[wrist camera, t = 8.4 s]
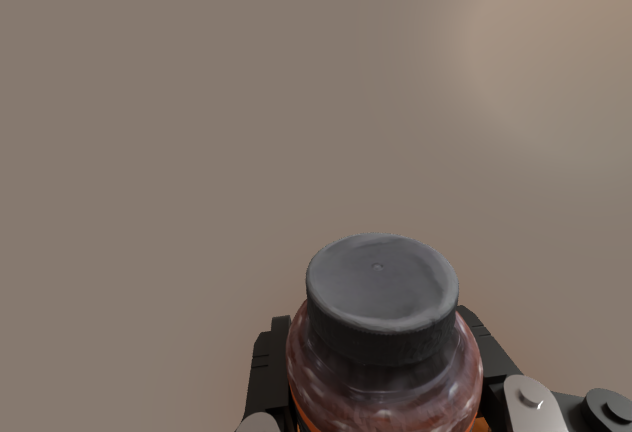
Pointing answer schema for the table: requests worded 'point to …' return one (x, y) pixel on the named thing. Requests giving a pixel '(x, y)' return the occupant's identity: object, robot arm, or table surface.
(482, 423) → the table surface
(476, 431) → the table surface
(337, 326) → the supplement bottle
